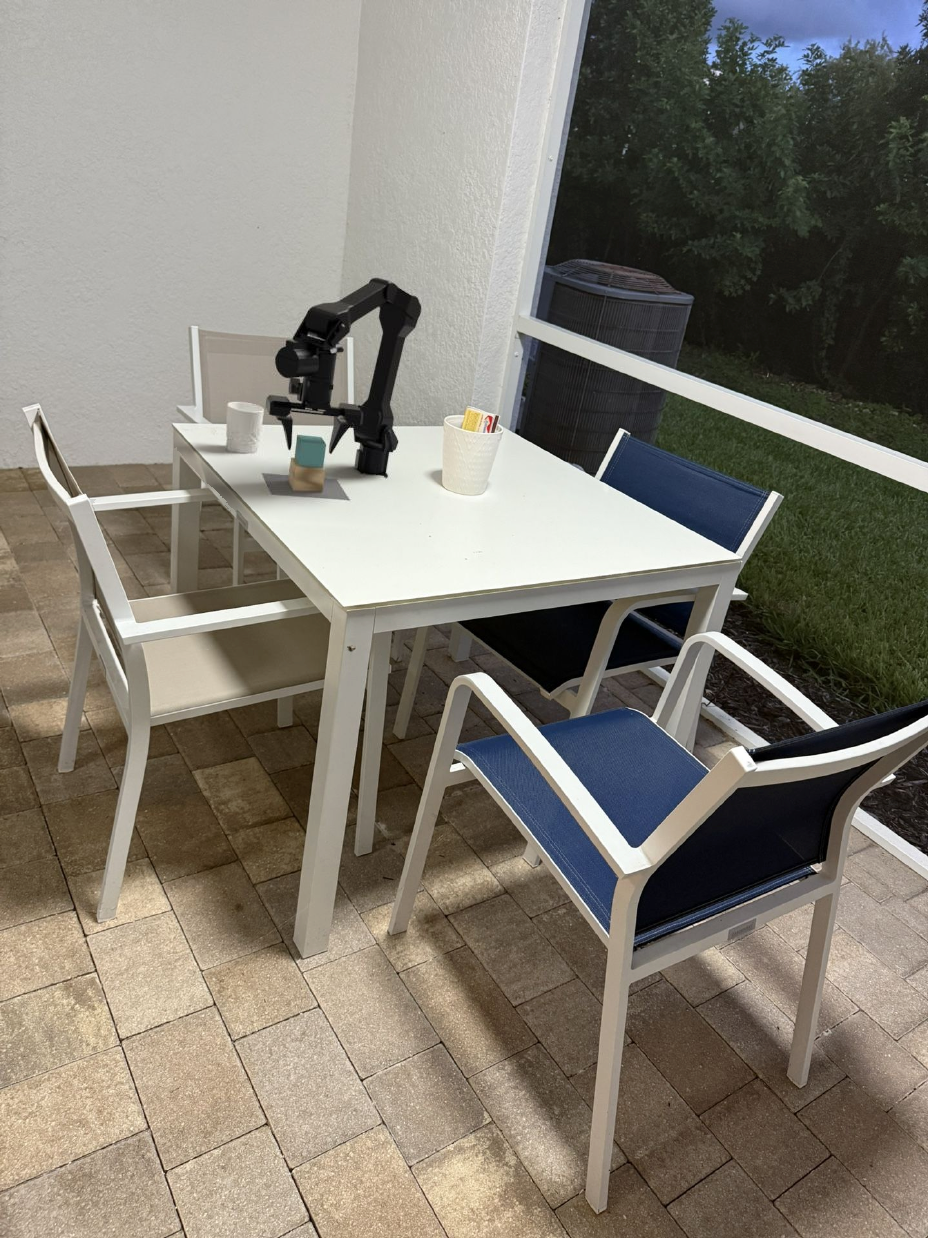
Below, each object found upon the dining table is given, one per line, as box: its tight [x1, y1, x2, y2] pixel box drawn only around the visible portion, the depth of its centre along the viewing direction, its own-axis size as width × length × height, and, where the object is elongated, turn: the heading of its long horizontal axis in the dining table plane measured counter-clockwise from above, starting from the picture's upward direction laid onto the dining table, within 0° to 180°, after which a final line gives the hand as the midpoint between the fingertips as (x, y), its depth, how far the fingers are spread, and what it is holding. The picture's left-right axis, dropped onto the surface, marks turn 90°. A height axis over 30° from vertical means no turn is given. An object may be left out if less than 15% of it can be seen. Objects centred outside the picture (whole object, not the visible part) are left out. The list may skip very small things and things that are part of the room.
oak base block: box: [288, 457, 326, 492], centre depth 188 cm, size 6×6×5 cm
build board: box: [261, 472, 351, 501], centre depth 189 cm, size 16×13×1 cm
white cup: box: [225, 401, 265, 455], centre depth 202 cm, size 8×8×10 cm
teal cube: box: [293, 434, 327, 468], centre depth 186 cm, size 5×5×5 cm
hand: (309, 451), depth 186 cm, fingers open, 8 cm apart
